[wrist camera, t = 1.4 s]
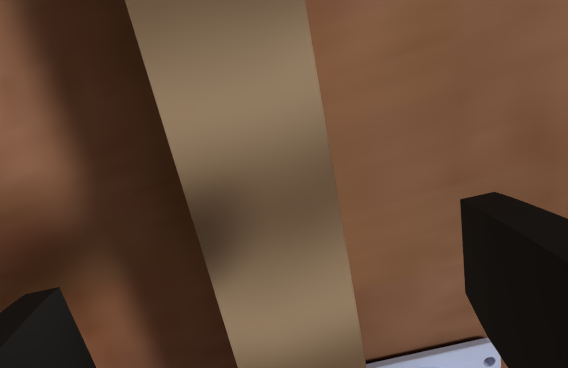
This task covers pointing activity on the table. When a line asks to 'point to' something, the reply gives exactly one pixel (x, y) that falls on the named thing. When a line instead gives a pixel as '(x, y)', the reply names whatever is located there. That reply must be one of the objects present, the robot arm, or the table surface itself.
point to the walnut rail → (256, 173)
